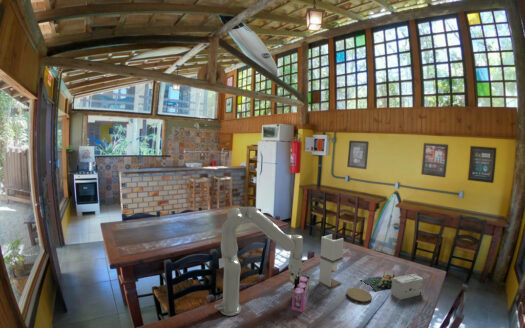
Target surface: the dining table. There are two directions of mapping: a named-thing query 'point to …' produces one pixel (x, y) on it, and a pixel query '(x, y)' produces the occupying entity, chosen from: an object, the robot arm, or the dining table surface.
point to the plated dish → (380, 282)
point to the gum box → (300, 294)
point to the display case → (330, 260)
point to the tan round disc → (359, 295)
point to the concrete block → (406, 286)
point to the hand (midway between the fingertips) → (294, 282)
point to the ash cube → (293, 279)
